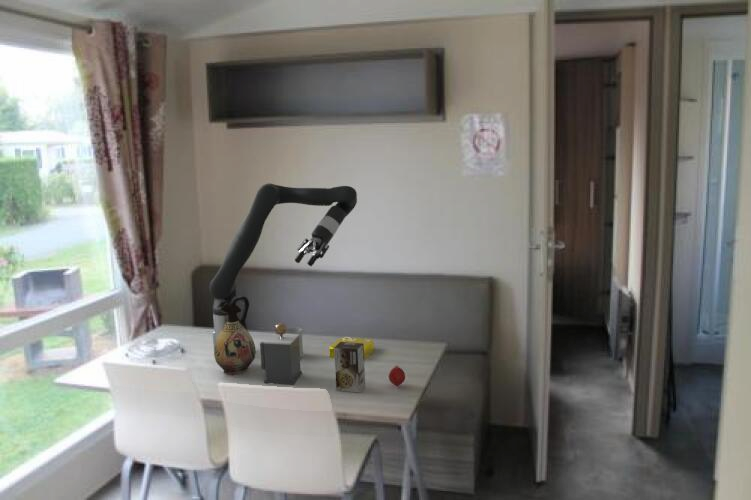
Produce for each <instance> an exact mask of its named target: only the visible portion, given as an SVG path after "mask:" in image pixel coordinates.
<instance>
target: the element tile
mask: <svg viewBox="0 0 751 500" xmlns="http://www.w3.org/2000/svg"><path fill="white" fill-rule="evenodd" d="M340 342H351V343H363V345H364V360H365V359H366V358H367V357H368V356H369V355H370V354H372V352H373V351H374V350H375V341H374V339H371V338H359V337H349V336H342V337H340V338H339V339H338V340H336V341H335V342H334V343H332V344H331V345H330V346H329V348H328V349H329V350H328V351H329V357H330V358H332V359H333V358H334V359H335V356H334V347H335V346H337V344H339V343H340Z"/></svg>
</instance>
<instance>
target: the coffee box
mask: <svg viewBox="0 0 751 500" xmlns="http://www.w3.org/2000/svg"><path fill="white" fill-rule="evenodd" d="M334 356H335V358H334V368H335V371H334V372H335V387H336V388H335V391H338V392H350V393H359V394H360V393H361V392H362V391H363V390H364V388H366V377H365V376H366V373H365V372H366V371H365V370H366V369H365V359H364V345H363V343H351V342H340V343H339V344H337V346H335V347H334Z"/></svg>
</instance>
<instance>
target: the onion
mask: <svg viewBox="0 0 751 500" xmlns="http://www.w3.org/2000/svg"><path fill="white" fill-rule="evenodd" d="M388 380H389V382H390V383H391V384H393V385H394V386H395V387H396V386H398V387H400V386H401V385H402V384H403V383H404V382H405V380H406V373H405V371H404V370H403V369H402V368H401V367H399V365H397V364H396V365H395V366H394V367H392V369H391V370H390V371H389V373H388Z"/></svg>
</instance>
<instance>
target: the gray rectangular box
mask: <svg viewBox="0 0 751 500" xmlns="http://www.w3.org/2000/svg"><path fill="white" fill-rule="evenodd" d="M259 350H260V363H261V364H260V365H261V370H264V371H265V379H264V381H263V382H264V383H263V384H269V383H273V384H274V385H295V383H296V382H297V381H298V379H299V378H300V377H301V376H302V375H303V370H301V358H300V349H299V334H283V339H280V334H276V332H275V333H272V334H271V335H270V336H268V338H266V339H265V340H264V341H261V342H260V343H259Z"/></svg>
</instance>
